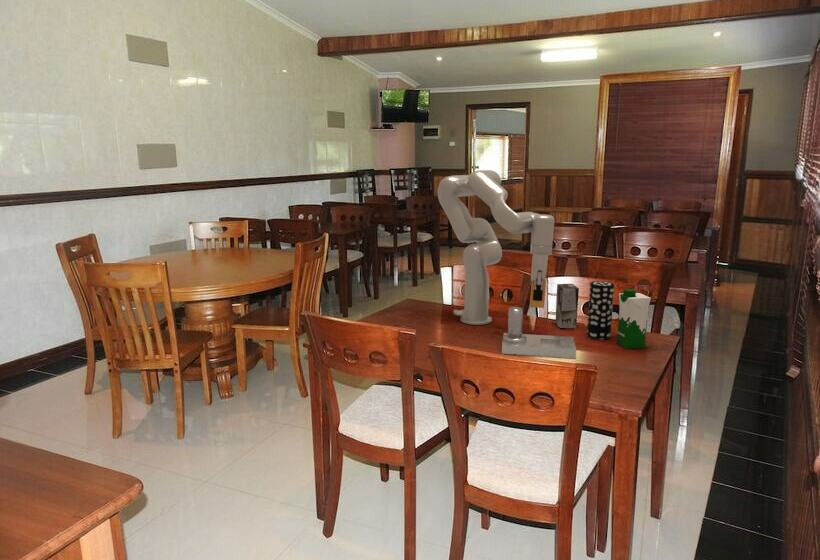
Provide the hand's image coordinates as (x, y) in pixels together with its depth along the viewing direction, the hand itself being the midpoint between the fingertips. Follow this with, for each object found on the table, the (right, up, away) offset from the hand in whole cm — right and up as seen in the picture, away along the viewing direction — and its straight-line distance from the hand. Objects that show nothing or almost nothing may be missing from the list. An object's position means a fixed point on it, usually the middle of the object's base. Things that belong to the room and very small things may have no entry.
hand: (537, 298), depth 208 cm
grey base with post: (-2, -17, -12) cm, 21 cm away
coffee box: (+15, -11, +16) cm, 24 cm away
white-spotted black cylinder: (+23, -14, +2) cm, 27 cm away
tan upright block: (0, -3, +1) cm, 3 cm away
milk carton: (+31, -16, -8) cm, 36 cm away
